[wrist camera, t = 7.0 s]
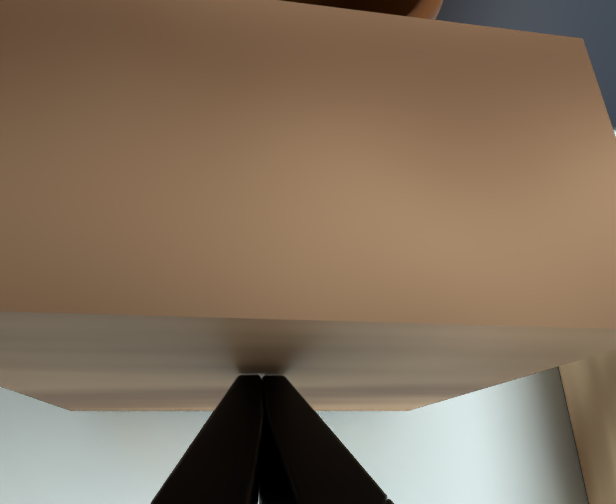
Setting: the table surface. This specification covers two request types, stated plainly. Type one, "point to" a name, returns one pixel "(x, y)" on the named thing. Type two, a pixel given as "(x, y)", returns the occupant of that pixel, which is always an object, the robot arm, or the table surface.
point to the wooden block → (295, 204)
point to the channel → (594, 421)
